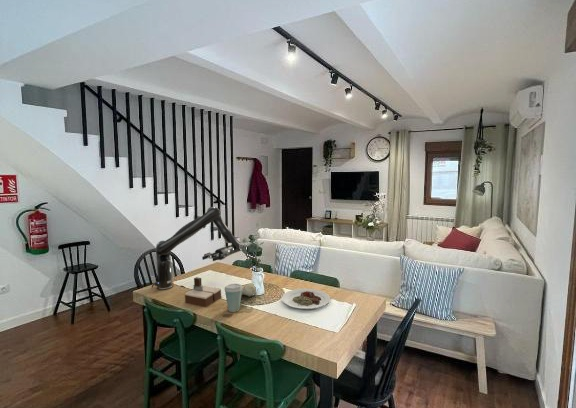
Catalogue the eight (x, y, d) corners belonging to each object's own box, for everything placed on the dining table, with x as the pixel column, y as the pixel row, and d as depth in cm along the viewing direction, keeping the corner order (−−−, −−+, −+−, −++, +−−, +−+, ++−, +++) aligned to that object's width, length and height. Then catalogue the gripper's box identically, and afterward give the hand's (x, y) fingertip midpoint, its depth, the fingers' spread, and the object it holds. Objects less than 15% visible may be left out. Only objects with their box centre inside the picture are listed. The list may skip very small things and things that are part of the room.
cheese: (240, 303, 198) (258, 288, 196) (234, 293, 201) (252, 279, 199) (250, 301, 213) (267, 287, 211) (245, 291, 215) (261, 278, 213)
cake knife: (193, 299, 201) (192, 277, 200) (195, 297, 203) (194, 276, 202) (202, 300, 198) (200, 279, 197) (204, 299, 200) (203, 278, 199)
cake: (185, 302, 195) (184, 293, 195) (201, 293, 209) (201, 285, 209) (205, 307, 189) (205, 297, 188) (221, 297, 203) (220, 288, 202)
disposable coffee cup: (222, 308, 186) (221, 284, 185) (239, 304, 192) (238, 280, 190) (228, 315, 177) (227, 289, 176) (246, 310, 183) (245, 286, 181)
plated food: (288, 314, 178) (287, 308, 177) (277, 294, 207) (277, 289, 206) (337, 307, 184) (337, 302, 184) (320, 289, 213) (320, 284, 213)
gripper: (214, 247, 225) (199, 252, 211) (230, 248, 220) (216, 254, 205) (214, 257, 226) (199, 263, 212) (231, 259, 220) (216, 265, 206)
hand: (207, 259), depth 208 cm, fingers open, 8 cm apart
